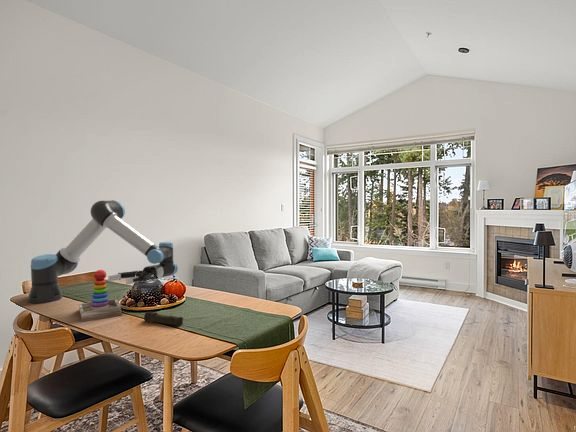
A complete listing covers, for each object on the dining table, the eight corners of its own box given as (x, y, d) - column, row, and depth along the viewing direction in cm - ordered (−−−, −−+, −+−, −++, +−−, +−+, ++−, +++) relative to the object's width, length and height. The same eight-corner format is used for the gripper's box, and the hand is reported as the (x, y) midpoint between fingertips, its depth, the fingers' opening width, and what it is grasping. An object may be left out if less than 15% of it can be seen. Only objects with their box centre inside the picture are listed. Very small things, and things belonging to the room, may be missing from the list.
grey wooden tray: (79, 310, 172) (78, 302, 171) (115, 304, 180) (115, 297, 180) (81, 321, 155) (81, 313, 155) (121, 315, 164) (121, 307, 163)
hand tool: (183, 325, 151) (183, 314, 151) (177, 328, 147) (177, 317, 147) (149, 319, 158) (148, 309, 158) (142, 322, 154) (142, 312, 154)
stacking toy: (101, 312, 163) (100, 271, 162) (86, 311, 165) (85, 271, 164) (113, 307, 171) (112, 268, 170) (98, 306, 172) (97, 268, 172)
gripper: (169, 281, 188) (134, 290, 170) (137, 277, 200) (102, 284, 182) (168, 267, 188) (134, 275, 169) (137, 263, 200) (101, 270, 181)
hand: (117, 280), depth 175 cm, fingers open, 13 cm apart
